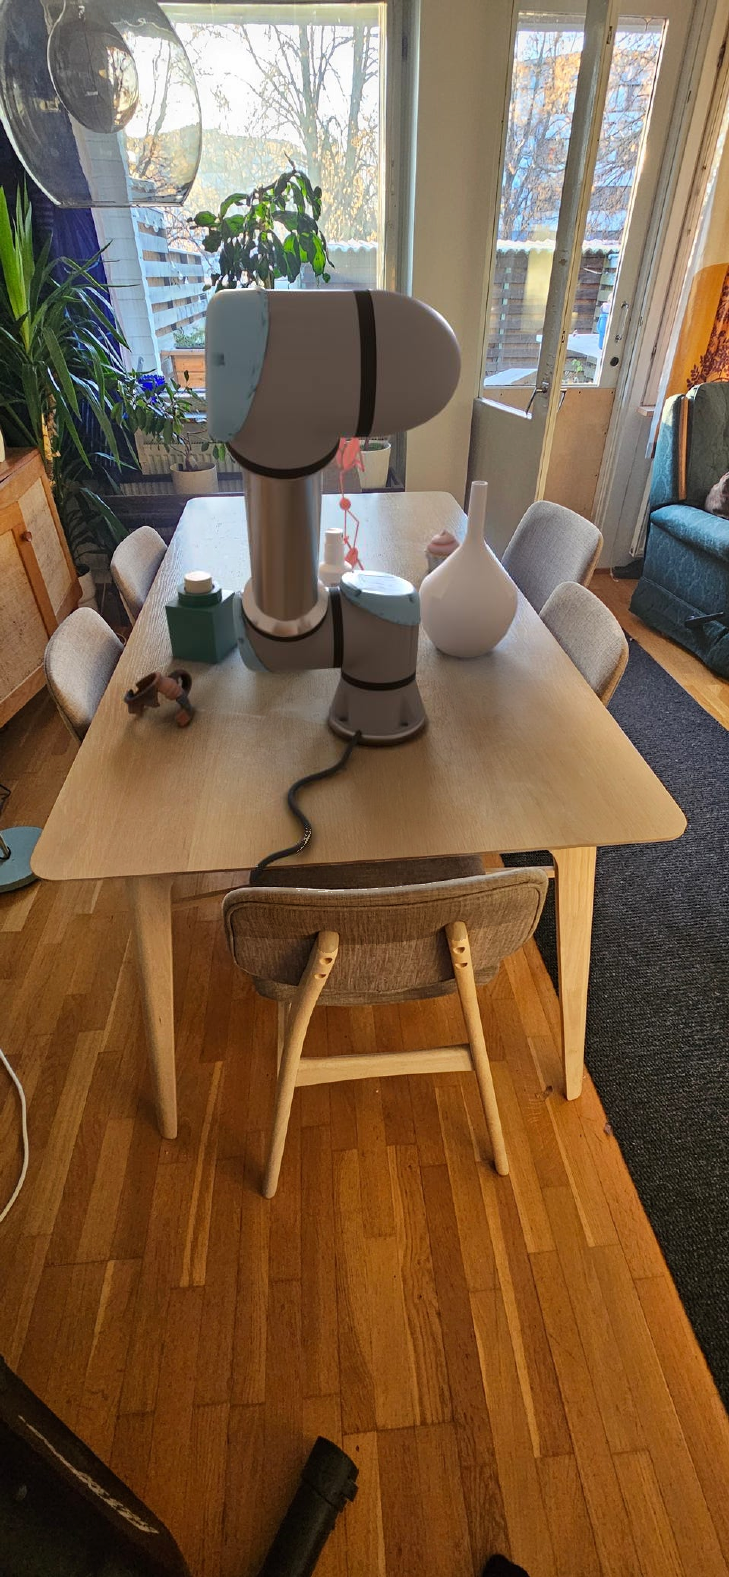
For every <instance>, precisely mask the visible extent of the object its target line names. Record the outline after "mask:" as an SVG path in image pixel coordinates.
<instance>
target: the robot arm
mask: <svg viewBox="0 0 729 1577" xmlns="http://www.w3.org/2000/svg"><path fill="white" fill-rule="evenodd" d="M204 323H205V324H204V368H205V374H204V392H205V394H204V399H205V400H204V401H205V420H206V422H205V423H206V431H207V435H208V436H209V437H210V438H212V440H218V441H220V442H222V443H224V445H225V448H226V451H227V453H228V455H229V456H230V458H231V459H232V460H233V461H234V463H236V464H237V466H239V467H240V468H241V475H242V485H243V497H244V507H245V508H244V510H245V519H246V520H245V521H246V529H247V531H246V532H247V542H248V553H249V565H250V577H249V579H248V580H247V581H246V583H245V585H244V588H243V589H242V590H238V591H235V595H234V597H233V619H234V627H235V633H236V637H237V641H238V643H237V647H238V651H239V655H240V659H241V660H242V663H243V665H244V666H245V668H246V669H247V670H249V671H251V672H254V673H269V674H274V673H281V672H283V673H284V672H297V671H298V672H299V671H312V670H313V671H314V670H326V669H327V670H330V669H340V678H339V681H338V684H337V686H336V689H335V692H334V695H333V698H332V701H331V703H330V705H329V706H330V707H329V712H328V713H329V725H330V728H331V729H332V730H333V731H334V732H335V733H336V734H337V735H338V736H340V737H341V738H343V739H345V740H347V741H349V743H348V744H347V746H346V748H345V750H344V751H345V752H344V753H343V755H342V757H341V759H340V760H339V761H338V762H337V763H335V764H334V765H332V766H331V767H329V768H327V769H324V770H322V771H318V772H315V773H313V774H310V775H308V776H305V777H302V778H301V779H299V780H297V781H296V782H294V784H292V785H291V786H290V788H289V790H288V792H287V798H286V800H287V804H288V807H289V808H290V810H291V811H292V813H293V814H294V815H295V817H296V818H297V820H298V821H299V822H300V824H301V825H302V828H303V830H304V836H303V838H302V840H303V839H304V837H305V838H307V837H308V835H309V834H310V832H309V831H311V834H310V837H309V839H308V841H307V843H306V844H305V841H306V839H305V840H303V841H302V840H301V841H300V842H301V843H300V842H299V843H297V844H296V845H294V846H292V847H288V848H285V849H282V850H279V851H276V852H274V853H271V854H269V855H267V856H266V857H265V858H263V859H262V860H261V861H259V863H258V864H257V865H256V866H258V867H256V866H255V867H254V869H253V870H252V872H251V874H250V877H249V879H248V881H249V883H255V882H256V881H258V878H259V877H260V875H261V873H262V872H263V871H264V870H265V868H266V867H268V866H269V865H271V864H272V863H274V862H276V861H278V860H281V859H284V858H287V857H290V856H294V855H295V854H298V853H300V852H302V851H303V850H304V849H306V848H307V847H308V845H309V844H310V842H311V840H312V837H313V836H312V835H313V829H312V827H311V824H310V822H309V820H308V818H307V817H306V816H305V815H304V813H303V812H302V811H301V809H300V808H299V807H298V805H297V803H296V800H295V795H296V793H297V791H298V790H299V789H301V787H303V786H305V785H306V784H309V783H312V782H315V781H318V780H320V779H324V778H326V777H329V776H331V775H333V774H335V773H337V772H338V771H339V770H340V769H342V768H343V767H344V766H345V765H346V764H347V763H348V761H349V759H350V757H351V755H352V753H353V750H354V749H355V747H356V746H357V744H358V745H364V746H371V747H385V746H394V745H399V744H403V743H405V742H408V741H410V740H412V739H414V738H416V737H417V736H418V735H419V734H421V732H422V731H423V729H424V727H425V722H426V720H425V719H426V708H425V706H424V702H423V699H422V694H421V692H420V688H419V685H418V682H417V666H418V650H419V636H420V624H421V623H422V621H421V617H420V597H419V591H418V590H417V588H416V587H415V586H414V585H413V584H412V583H411V582H409V581H407V580H406V579H404V578H402V577H399V576H397V575H394V574H391V573H387V572H383V571H375V570H364V571H362V570H352V573H346V574H344V575H343V576H342V577H341V580H340V582H339V587H325V586H324V585H323V583H322V581H321V580H320V579H319V578H318V567H319V564H320V546H321V541H320V540H321V524H322V505H323V504H322V502H323V486H324V485H323V483H324V482H323V480H324V470H325V469H327V468H328V467H329V466H330V465H331V464H332V461H333V460H334V458H335V459H336V454H337V452H338V449H339V445H340V438H345V439H351V438H353V439H354V438H359V439H360V438H361V439H362V438H364V439H365V438H380V437H388V436H393V435H399V434H401V433H405V432H408V431H411V430H413V429H415V428H418V427H420V426H422V425H424V424H426V423H428V422H429V421H431V420H432V419H434V418H435V417H436V416H438V415H439V414H440V413H441V412H442V411H443V410H444V409H445V408H446V407H447V405H448V404H449V403H450V401H451V399H452V398H453V396H454V394H455V393H456V390H457V388H458V385H459V381H460V377H461V373H462V372H461V370H462V357H461V356H462V354H461V353H462V352H461V349H460V345H459V341H458V339H457V337H456V333H455V332H454V330H453V329H452V328H451V326H450V324H449V323H448V321H447V320H446V319H445V318H444V317H443V315H442V314H440V313H439V312H438V311H436V309H434V308H433V307H431V306H430V305H428V304H426V303H425V302H423V301H421V300H419V299H417V298H415V297H412V296H410V295H407V294H404V293H400V292H397V291H393V290H386V289H378V288H366V289H352V288H351V289H307V288H305V289H303V288H302V289H297V288H296V289H295V288H294V289H293V288H292V289H288V288H287V289H285V288H284V289H279V288H278V289H277V288H275V289H273V288H272V289H271V288H268V289H267V288H265V286H263V285H258V284H257V285H252V286H251V287H250V288H234V289H233V288H232V289H222V290H218V291H217V292H215V293H214V294H213V295H212V296H211V297H210V299H209V301H208V303H207V306H206V311H205V322H204ZM306 828H307V829H306ZM310 829H311V830H310ZM306 831H308V832H306ZM305 834H306V835H307V836H305ZM304 844H305V845H304ZM303 846H304V847H303ZM301 847H303V848H302V849H301ZM300 849H301V850H300ZM298 850H299V851H298ZM297 851H298V852H297Z"/></svg>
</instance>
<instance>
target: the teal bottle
mask: <svg viewBox="0 0 729 1577" xmlns="http://www.w3.org/2000/svg"><path fill="white" fill-rule="evenodd" d="M212 585H213V590H212V591H209V592H205V593H188V592H186V588H185V582H182V583H181V584H179V585H178V586H177V587H176V591H177V595H176V596H175V597H173V599H172V600H170V601H169V602H168V603H166V604H165V605H164V610H165V616H166V621H167V627H168V634H169V640H170V647H171V654H172V657H173V658H178V659H184V660H191V661H198V662H204V663H212V664H219V663H220V662H221V661H222V660H223V659H224V658H225V657H226V656H227V655H228V653H230V652H231V651H232V649H234V647H235V646H236V645H238V641H237V637H236V633H235V627H234V619H233V597H234V595H235V594H236V591H235V590H228V589H227V590H226V589H222V585H221V583H220V582H217V581H214V580H212Z"/></svg>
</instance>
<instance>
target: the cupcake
mask: <svg viewBox="0 0 729 1577" xmlns="http://www.w3.org/2000/svg"><path fill="white" fill-rule="evenodd" d="M459 546H460V543H459V541H458V540H457V539H456V537H455V535H454V534H453V533H452V532H451V531H449V530H446V529H443V530H442V531H441V532H440V533H438V534H435V535H434V536H433V537H432V539H430V541H429V542H428V543H427V545H426V548H425V549H423V552H424V555H425V558H426V560H427V561H426V562H427V567H428V571H429V574H430V573H431V572H433V571H434V570H435V569H436V568H437V567H438V566H440V565H441V564H442V563H443V562H444V561H445V560H446V559H447V558H448V557H449V556H450V555H451V554H452V553H453V552H454V551H455V550H456V549H457V548H458V547H459Z"/></svg>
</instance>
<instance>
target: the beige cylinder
mask: <svg viewBox="0 0 729 1577" xmlns="http://www.w3.org/2000/svg"><path fill="white" fill-rule="evenodd" d="M183 581H184V583H185V588H186V592H188V593H205V592H209V591H212V590H213V585H212V581H213V577H212V574H211V572H208V571H204V570H195V571H190V572H187V573H186V574H184V575H183Z"/></svg>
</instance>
